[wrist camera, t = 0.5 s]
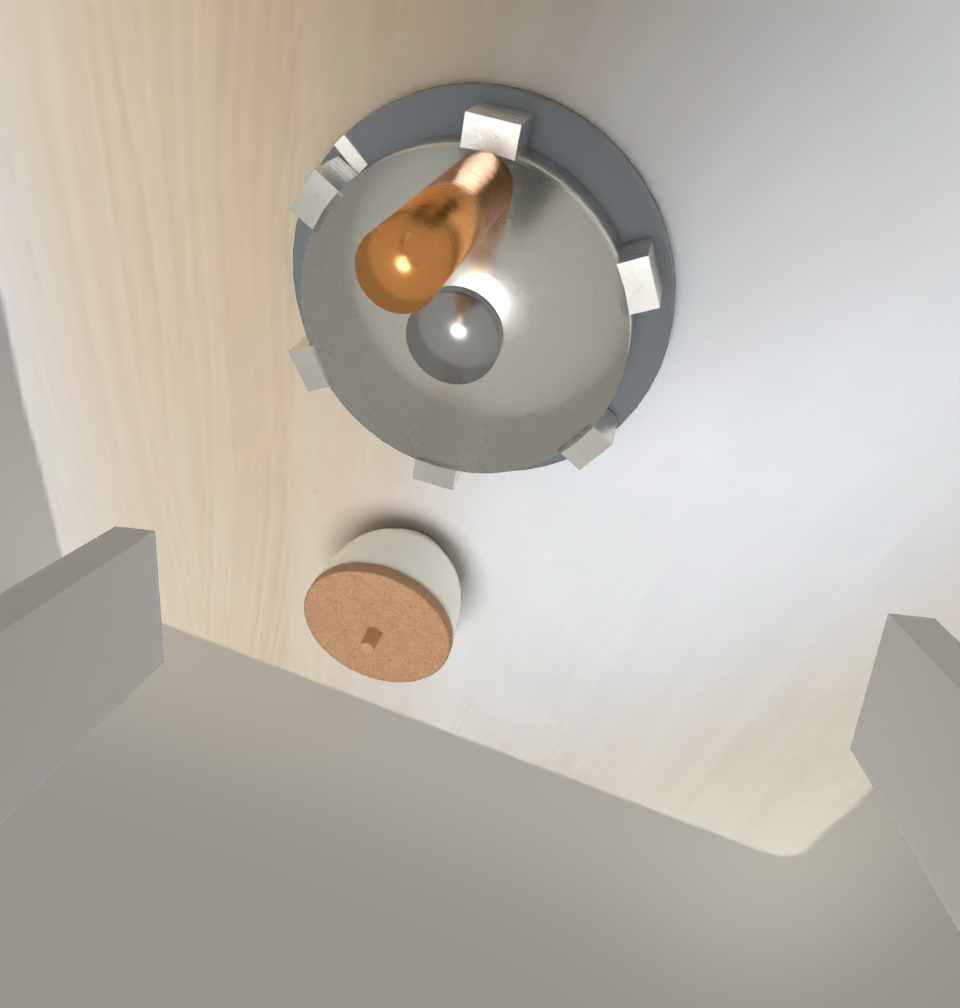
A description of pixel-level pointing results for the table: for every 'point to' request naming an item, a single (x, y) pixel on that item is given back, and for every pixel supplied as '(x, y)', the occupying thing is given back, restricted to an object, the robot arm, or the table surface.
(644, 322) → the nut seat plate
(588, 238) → the lugged metal dome
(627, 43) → the table surface
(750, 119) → the table surface
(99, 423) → the table surface
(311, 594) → the lidded jar
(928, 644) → the robot arm
